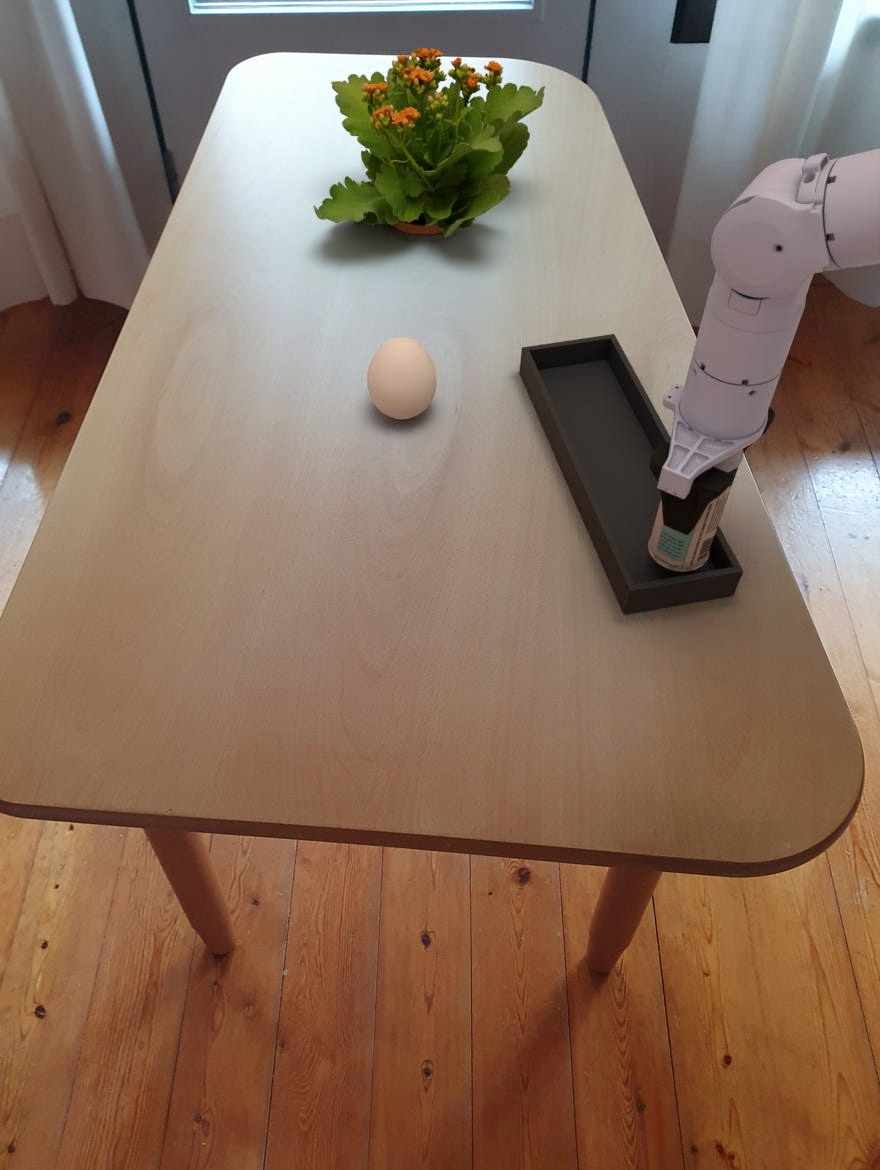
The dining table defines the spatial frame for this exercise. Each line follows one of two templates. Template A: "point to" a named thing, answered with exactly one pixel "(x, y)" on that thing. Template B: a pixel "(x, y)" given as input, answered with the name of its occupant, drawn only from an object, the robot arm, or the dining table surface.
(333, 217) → the potted flower
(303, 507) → the dining table surface
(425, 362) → the egg
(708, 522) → the beer can
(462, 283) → the dining table surface
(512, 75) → the dining table surface
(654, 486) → the baking pan
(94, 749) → the dining table surface
